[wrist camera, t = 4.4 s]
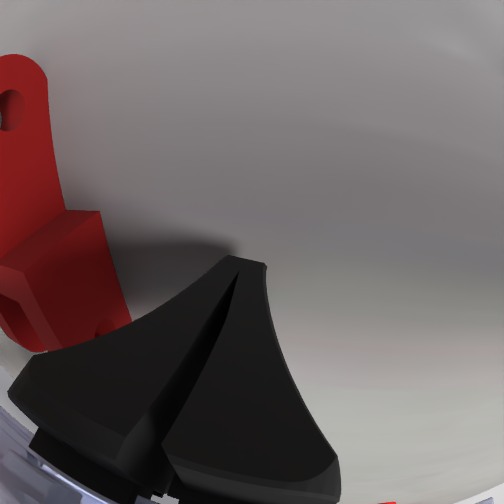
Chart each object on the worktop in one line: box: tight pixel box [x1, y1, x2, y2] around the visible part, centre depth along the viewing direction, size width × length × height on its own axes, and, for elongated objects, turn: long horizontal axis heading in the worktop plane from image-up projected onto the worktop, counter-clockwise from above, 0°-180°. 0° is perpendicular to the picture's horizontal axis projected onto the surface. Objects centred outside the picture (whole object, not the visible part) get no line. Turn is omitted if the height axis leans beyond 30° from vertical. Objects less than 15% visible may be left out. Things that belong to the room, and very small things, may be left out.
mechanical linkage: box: [0, 54, 132, 352], centre depth 10 cm, size 16×7×5 cm, turn 0°
